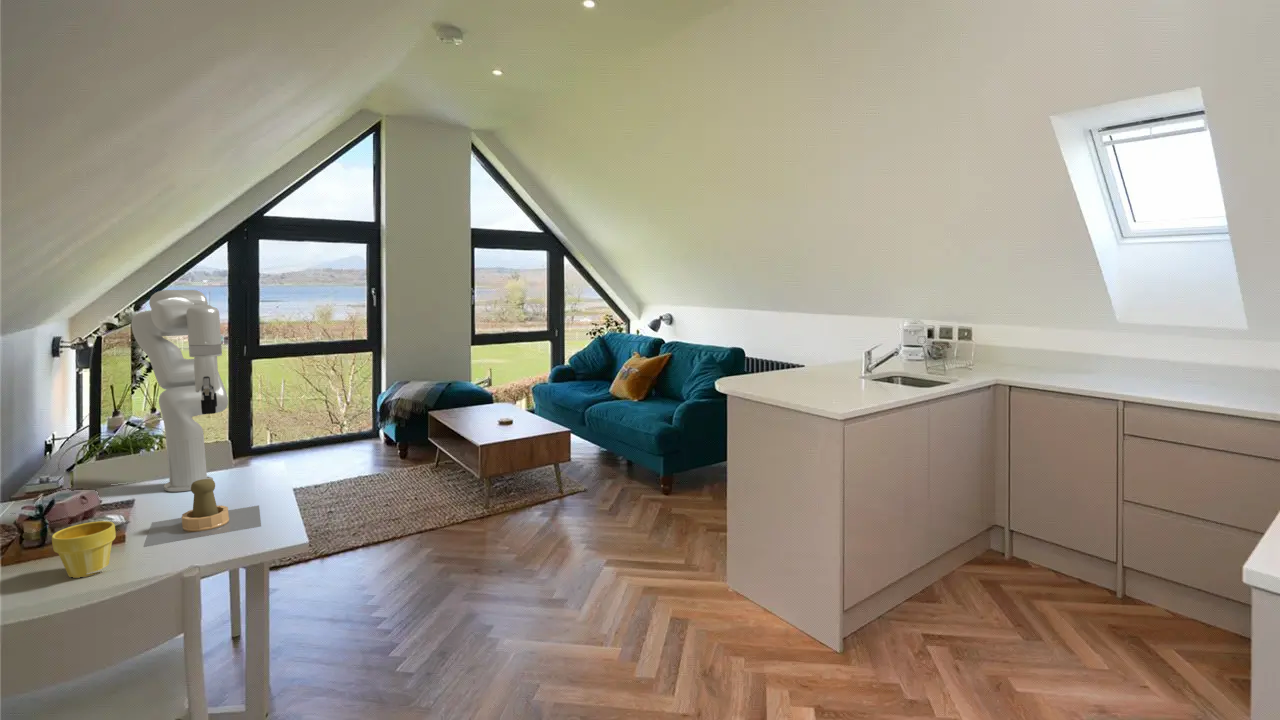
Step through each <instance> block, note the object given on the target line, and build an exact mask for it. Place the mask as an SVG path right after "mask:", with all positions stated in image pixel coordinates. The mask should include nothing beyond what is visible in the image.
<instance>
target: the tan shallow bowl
mask: <svg viewBox="0 0 1280 720" xmlns="http://www.w3.org/2000/svg"><path fill="white" fill-rule="evenodd" d="M217 509H218V514H215V515H212V516H207V517H201V518H192V514H193V509H190V510H188V511H186V512H184V513H183V514H181V518H182V527H183V530H184V531H187V532H200V531H207V530H212V529H215V528H218V527H221V526H223V525H225V524H227V523H228V522H229V514H228V510H229V507H228V506H225V505H217Z"/></svg>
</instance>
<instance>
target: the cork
mask: <svg viewBox="0 0 1280 720" xmlns="http://www.w3.org/2000/svg"><path fill="white" fill-rule="evenodd" d="M215 489H216V482H215V481H214V479H213V480H211V479H201V480H197V481H195V482H193V483H192V485H191V490H190V491H191V493H192V494H193V505H192V506H193V507H192V510H193V514H192V518H201V517H207V516H212V515H215V514H218V509H217V506H218V505H217V501H216V498H215V494H214V491H215Z"/></svg>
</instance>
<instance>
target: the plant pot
mask: <svg viewBox="0 0 1280 720" xmlns="http://www.w3.org/2000/svg"><path fill="white" fill-rule="evenodd" d="M116 532H117V531H116V524H115V522H112V521H106V520H102V521H101V520H99V521H90V522H84V523H80V524H74V525H71V526H68V527H66V528H62V529H61V530H58V531H56V532H54V533H53V534H52V536H51V544H52V548H53V552H54V553H57V554H58V556H59V558H60V560H61V562H62V565H63V567H64V569H65V571H66V574H67V575H68V577H69V578H71V577H73V578H72V579H81V578H80V577H83V578H88V577H92V576H95V574H96V575H98V574H101V573H103V572H102V571H103V568H106V567H107V566H108V565H109V564H110V560H111V552H112V544H113V542H114V540H115V539H116V537H117V536H116V535H117V533H116ZM99 570H101V571H99ZM100 572H101V573H100Z"/></svg>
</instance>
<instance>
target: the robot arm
mask: <svg viewBox="0 0 1280 720" xmlns="http://www.w3.org/2000/svg"><path fill="white" fill-rule="evenodd" d="M148 302H149V304H148V305H149V307H150V309H151V310H146V311H141V312H138V313H136V314H135V315H134V316H133V317H132V319H131V329H132V333H133V337H134V339H135V341H136V342H137V345H139V347H140V348H141V350H143V352H144V353H145V354H146V356H147V357H148V359H149V362H150V365H151V368H152V371H153V372H154V376H155V378H156V379H155V380H156V381H157V384H158V385H159V386H160V388H161V389H163V390H164V391H162V392H161V393H160V395H159V397H158V404H159V409H160V412H161V415H162V420H163V427H164V433H165V441H166V453H167V454H166V455H167V466H168V476H169V479H168V480H169V482H168V481H167V482H166V483H164V485H163V490H164V491H167V492H173V493H175V492H176V493H177V492H187V491H191V485H192V483H193V482H195V481H197V480H201V479H211V480H213V481H214V478H213V477H211V476H208V473H207V472H208V471H207V460H206V449H205V437H204V434H205V433H204V429H203V427H202V426H201V424H199V423H198V422H197V421H195V420H194V419H193V417H197V416H204V415H211V414H213V415H214V414H216V413H217V414H218V413H221V412H223V411H225V410H226V409H227V408H228V405H229V398H228V394H227V390H226V388H225V385H224V383H223V381H222V378H221V375H220V372H219V369H218V367H219V366H218V357H221V356H223V350H222V349H223V347H222V334H221V319H220V311H219V309H218V308H216V307H214V306H212V305H210V304H208V299H207V297H206V295H205V294H204V293H203V292H202V291H199V290H197V289H164V290H158V291H157V292H155V293H153V294H152V295H151V296H150V298H149V301H148ZM177 336H187V341H188V354H189V355H188V356H189V358H184V356H183V352H182V350H181V348H179V347H178V346H177V345H176V344H174V343H173V342H172V341H170V340H168V339H166V338H164V337H177Z"/></svg>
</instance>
